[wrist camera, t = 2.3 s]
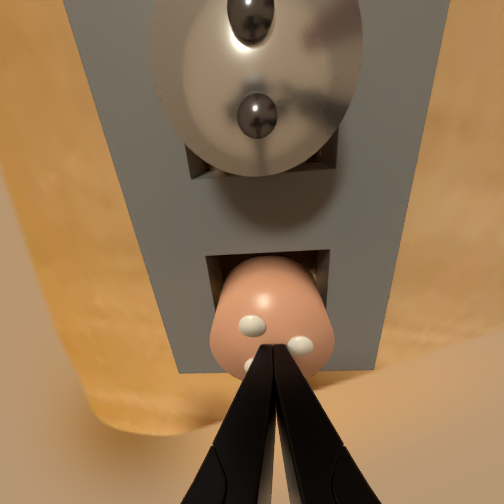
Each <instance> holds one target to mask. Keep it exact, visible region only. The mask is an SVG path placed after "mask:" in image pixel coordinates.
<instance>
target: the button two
mask: <svg viewBox="0 0 504 504" xmlns="http://www.w3.org/2000/svg"><path fill="white" fill-rule="evenodd" d="M149 47H150V63H151V70H152V76H153V81H154V85H155V88H156V92H157V96H158V98H159V101H160V103H161V106H162V109H163V111H164V113H165V115H166V117H167V119H168V121H169V123H170V124H171V126H172V127H173V129H174V130H175V132H176V133H177V135H178V136H179V137H180V138H181V140H182V141H183V142H184V143H185V144H186V145H187V146H188V147H189V148H190V149H191V150H192V151H193V152H194V153H195V154H196V155H197V156H199V157H200V158H201V159H203V160H204V161H205V162H207V163H209V164H211V165H212V166H214V167H216V168H218V169H221V170H223V171H225V172H228V173H232V174H236V175H241V176H249V177H257V176H268V175H274V174H277V173H281V172H284V171H286V170H289V169H291V168H293V167H295V166H297V165H299V164H300V163H302V162H304V161H306V160H307V159H308V158H309V157H311V156H312V155H313V154H315V153H316V152H317V151H318V150H319V149H320V148H321V147H322V146H323V145H324V144H325V143H326V142H327V141H328V139H329V138H330V137H331V136H332V135H333V133H334V132H335V131H336V129H337V127H338V126H339V124H340V123H341V121H342V120H343V118H344V116H345V114H346V112H347V110H348V108H349V106H350V103H351V100H352V98H353V95H354V92H355V89H356V86H357V82H358V78H359V74H360V67H361V61H362V47H363V33H362V19H361V14H360V8H359V3H358V0H156V1H155V4H154V8H153V13H152V20H151V26H150V43H149Z"/></svg>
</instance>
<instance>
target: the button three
mask: <svg viewBox="0 0 504 504" xmlns="http://www.w3.org/2000/svg"><path fill="white" fill-rule="evenodd" d="M261 344H272V346H273V344H285V345H286V346H287V348H288V350H289V351H290V353H291V355H292V357H293V358H294V360H295V362H296V363H297V365H298V367H299V368H300V370H301V372H302V374H303V375H304V377H305V379H307V378H309V377H311V376H313V375H314V374H316V373H317V372H318V371H320V370H321V369H322V368H323V367H324V366H325V364H326V363H327V362H328V361H329V359H330V357H331V355H332V352H333V350H334V344H335V337H334V332H333V329H332V326H331V323H330V321H329V318H328V315H327V312H326V309H325V307H324V304H323V301H322V298H321V295H320V293H319V290H318V287H317V284H316V282H315V279H314V278H313V276H312V274H311V273H310V272H309V271H308V270H307V269H306V268H305V267H304V266H303V265H302V264H300V263H299V262H297V261H295V260H293V259H290V258H288V257H284V256H279V255H261V256H256V257H252V258H250V259H247V260H245V261H243V262H241V263H240V264H238V265H237V266H236V267H234V268H233V269H232V270H231V272H230V273H229V274H228V275H227V277H226V279H225V281H224V283H223V287H222V291H221V294H220V298H219V302H218V306H217V309H216V313H215V317H214V321H213V325H212V328H211V332H210V348H211V351H212V354H213V356H214V358H215V360H216V361H217V362H218V364H219V365H220V366H221V367H222V368H223V369H224V370H225V371H226V372H228V373H229V374H231V375H232V376H234V377H236V378H238V379H240V380H242V381H243V379H244V377H245V375H246V373H247V371H248V369H249V367H250V365H251V363H252V361H253V359H254V356H255V354H256V352H257V350H258V348H259V346H260V345H261Z"/></svg>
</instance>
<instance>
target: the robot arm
mask: <svg viewBox="0 0 504 504" xmlns="http://www.w3.org/2000/svg"><path fill="white" fill-rule="evenodd" d="M275 399H276V401H275ZM276 414H277V422H278V429H279V435H280V441H281V448H282V454H283V460H284V467H285V473H286V479H287V486H288V492H289V498H290V504H381V502H380V501H379V499H378V498H377V496H376V495H375V493H374V492H373V490H372V489H371V487H370V486H369V484H368V483H367V481H366V479H365V478H364V476H363V475H362V473H361V471H360V470H359V468H358V466H357V465H356V463H355V462H354V460H353V458H352V457H351V455H350V453H349V451H348V450H347V448H346V447H345V446H343V444H344V443H343V442H342V440H341V438H340V436H339V435H338V433H337V432H336V430H335V428H334V426H333V425H332V423H331V421H330V419H329V418H328V416H327V414H326V413H325V411H324V409H323V408H322V406H321V404H320V403H319V401H318V399H317V397H316V396H315V394H314V392H313V391H312V389H311V387H310V385H309V384H308V382H307V380H306V379H305V377H304V375H303V374H302V372H301V370H300V368H299V367H298V365H297V363H296V362H295V360H294V358H293V357H292V355H291V353H290V351H289V350H288V348H287V346H286V345H285V344H273V346H272V344H261V345H260V346H259V348H258V350H257V352H256V354H255V356H254V359H253V361H252V363H251V365H250V367H249V369H248V371H247V373H246V375H245V377H244V379H243V381H242V383H241V385H240V387H239V389H238V391H237V394H236V396H235V398H234V400H233V402H232V404H231V406H230V408H229V410H228V412H227V414H226V416H225V418H224V420H223V422H222V424H221V427H220V429H219V431H218V433H217V435H216V437H215V439H214V441H213V446H211V447H210V449H209V451H208V453H207V455H206V457H205V459H204V461H203V463H202V465H201V467H200V469H199V471H198V473H197V475H196V477H195V479H194V481H193V483H192V484H191V486H190V488H189V490H188V491H187V493H186V495H185V497H184V498H183V500H182V502H181V504H271V494H272V476H273V460H274V443H275V427H276Z"/></svg>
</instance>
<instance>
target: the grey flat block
mask: <svg viewBox="0 0 504 504" xmlns="http://www.w3.org/2000/svg"><path fill="white" fill-rule="evenodd" d="M155 1H156V0H63V3H64V6H65V9H66V13H67V16H68V19H69V22H70V25H71V29H72V32H73V35H74V38H75V42H76V45H77V48H78V51H79V54H80V58H81V61H82V64H83V67H84V70H85V74H86V77H87V80H88V83H89V86H90V90H91V93H92V96H93V99H94V102H95V106H96V109H97V112H98V115H99V118H100V122H101V125H102V128H103V131H104V135H105V138H106V141H107V144H108V147H109V151H110V154H111V157H112V160H113V163H114V167H115V170H116V173H117V176H118V179H119V183H120V186H121V189H122V192H123V195H124V199H125V202H126V205H127V208H128V212H129V215H130V218H131V221H132V224H133V228H134V231H135V234H136V237H137V240H138V244H139V247H140V250H141V253H142V256H143V260H144V263H145V266H146V269H147V272H148V276H149V279H150V282H151V285H152V288H153V292H154V295H155V298H156V301H157V305H158V308H159V311H160V314H161V317H162V321H163V324H164V327H165V330H166V333H167V337H168V340H169V343H170V346H171V349H172V353H173V356H174V359H175V362H176V365H177V369H178V372H179V374H184V373H228V372H226V371H225V370H224V369H223V368H222V367H221V366H220V365H219V364H218V362H217V361H216V360H215V358H214V356H213V354H212V351H211V348H210V332H211V328H212V325H213V321H214V317H215V313H216V309H217V306H218V302H219V298H220V294H221V291H222V287H223V279H222V273H221V266H220V260H219V255H229V254H248V253H267V252H286V251H304V250H317V260H316V284H317V287H318V290H319V293H320V295H321V298H322V301H323V304H324V307H325V309H326V312H327V315H328V318H329V321H330V323H331V326H332V329H333V332H334V337H335V344H334V350H333V352H332V355H331V357H330V359H329V361H328V362H327V363H326V364H325V366H324V367H323V368H322V369H321V370H320V371H350V370H374V367H375V362H376V357H377V352H378V347H379V342H380V338H381V333H382V328H383V323H384V318H385V313H386V308H387V304H388V299H389V294H390V289H391V284H392V279H393V274H394V270H395V265H396V260H397V255H398V250H399V245H400V241H401V236H402V231H403V226H404V221H405V216H406V211H407V207H408V202H409V197H410V192H411V187H412V182H413V178H414V173H415V168H416V163H417V158H418V153H419V148H420V144H421V139H422V134H423V129H424V124H425V119H426V114H427V110H428V105H429V100H430V95H431V90H432V85H433V81H434V76H435V71H436V66H437V61H438V56H439V51H440V47H441V42H442V37H443V32H444V27H445V22H446V18H447V13H448V8H449V3H450V0H358V3H359V8H360V14H361V19H362V33H363V47H362V61H361V67H360V74H359V78H358V82H357V86H356V89H355V92H354V95H353V98H352V100H351V103H350V106H349V108H348V110H347V112H346V114H345V116H344V118H343V120H342V121H341V123H340V124H339V126H338V127H337V129H336V131H335V132H334V133H333V135H332V136H331V137H330V138H329V139H328V141H327V142H326V143H325V144H324V145H323V146H322V147H321V162H309V163H300V164H299V165H297V166H295V167H293V168H291V169H289V170H286V171H284V172H281V173H277V174H274V175H268V176H257V177H249V176H241V175H236V174H232V173H228V172H225V171H223V170H208V171H206V170H205V164H204V160H203V159H201V158H200V157H199V156H197V155H196V154H195V153H194V152H193V151H192V150H191V149H190V148H189V147H188V146H187V145H186V144H185V143H184V142H183V141H182V140H181V138H180V137H179V136H178V135H177V133H176V132H175V130H174V129H173V127H172V126H171V124H170V123H169V121H168V119H167V117H166V115H165V113H164V111H163V109H162V106H161V103H160V101H159V98H158V96H157V92H156V88H155V85H154V81H153V76H152V70H151V63H150V47H149V43H150V26H151V20H152V13H153V8H154V4H155Z"/></svg>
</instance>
